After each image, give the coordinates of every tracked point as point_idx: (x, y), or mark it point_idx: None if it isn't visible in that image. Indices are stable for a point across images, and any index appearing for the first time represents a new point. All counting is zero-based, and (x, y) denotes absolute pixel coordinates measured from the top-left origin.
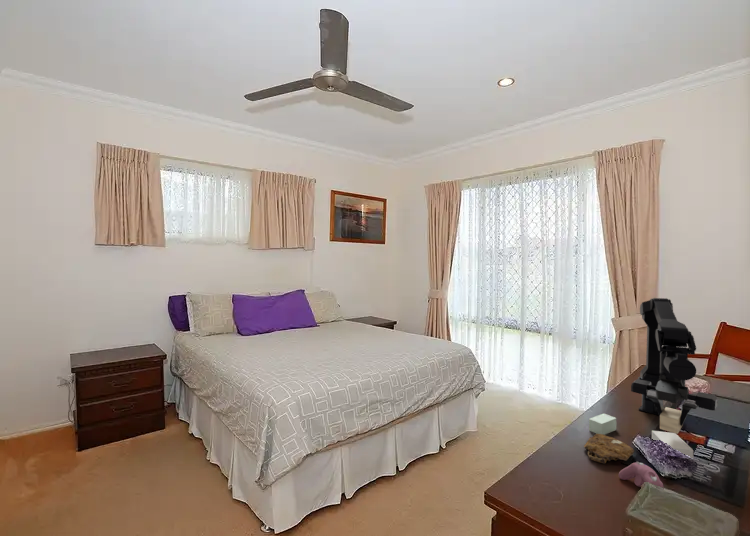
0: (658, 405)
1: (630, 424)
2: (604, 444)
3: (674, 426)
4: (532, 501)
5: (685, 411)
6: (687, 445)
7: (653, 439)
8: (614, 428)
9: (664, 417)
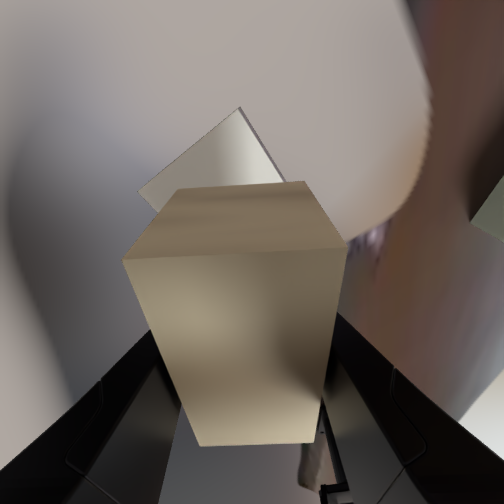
0: (410, 431)
1: (404, 309)
2: None
3: (187, 210)
4: None
5: (52, 456)
6: None
7: None
8: (488, 212)
9: (285, 239)
